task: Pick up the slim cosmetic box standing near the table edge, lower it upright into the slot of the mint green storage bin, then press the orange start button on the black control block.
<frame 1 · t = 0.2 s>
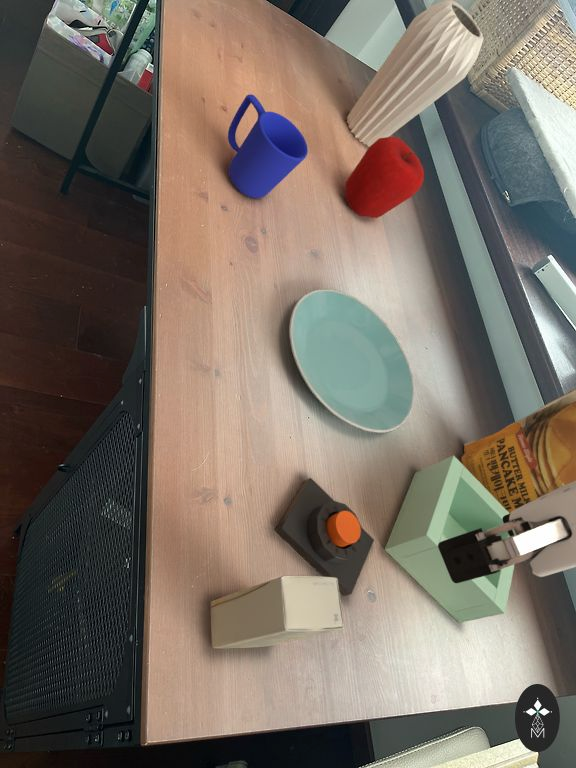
hand: (480, 547, 51), 22 cm above the table, tool pointing down, fingers open, 9 cm apart
cosmetic box: (235, 625, 60), on the table
pancake mix bag: (479, 496, 92), on the table
plate: (342, 367, 86), on the table
vase: (361, 132, 122), on the table
start button: (343, 528, 68), point 3 cm above the table, slide at 0.1 cm
mint green storage bin: (435, 544, 82), on the table
mug: (237, 173, 92), on the table
apple: (356, 204, 108), on the table
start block: (323, 536, 71), on the table
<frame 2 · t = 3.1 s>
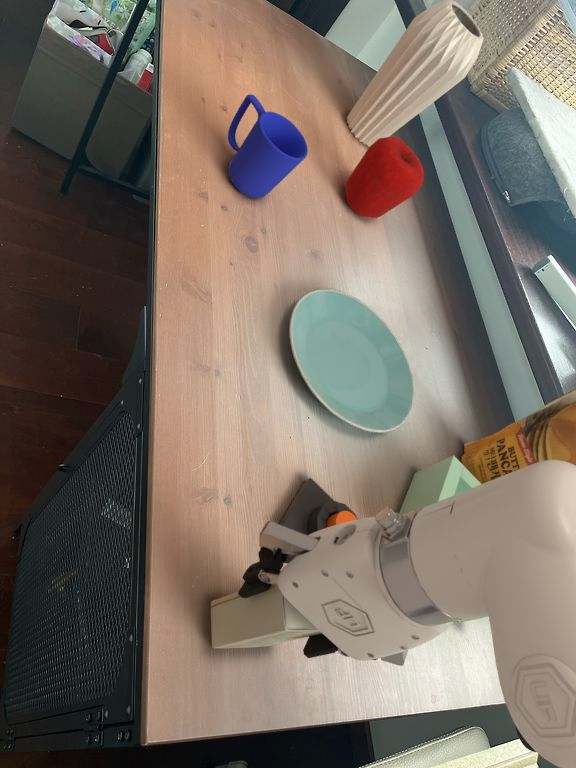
hand: (280, 611, 54), 7 cm above the table, tool pointing down, fingers closed on cosmetic box, 7 cm apart
cosmetic box: (235, 625, 60), on the table, touching gripper
everything else where it was.
when the fingers open (8 cm above the table, at t = 11.4 s): cosmetic box stays where it is, resting on mint green storage bin.
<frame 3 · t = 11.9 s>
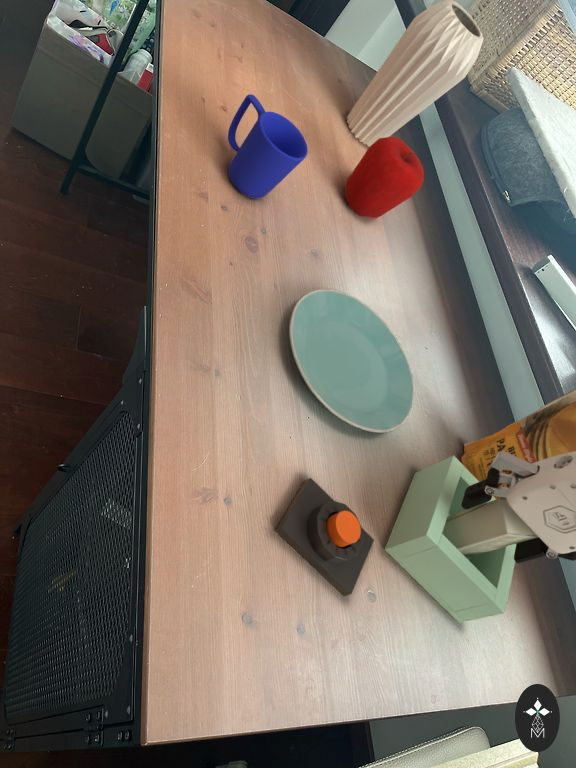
hand: (491, 526, 75), 9 cm above the table, tool pointing down, fingers open, 9 cm apart
cosmetic box: (440, 543, 81), point 1 cm above the table, touching mint green storage bin
everything else where it was.
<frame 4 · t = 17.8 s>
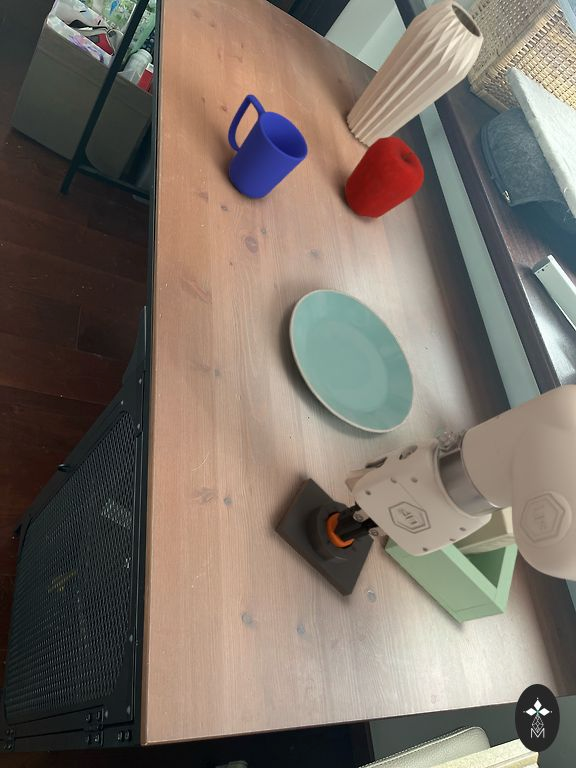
hand: (342, 527, 68), 3 cm above the table, tool pointing down, fingers closed
start button: (337, 531, 69), point 2 cm above the table, slide at -0.9 cm, touching gripper
everything else where it was.
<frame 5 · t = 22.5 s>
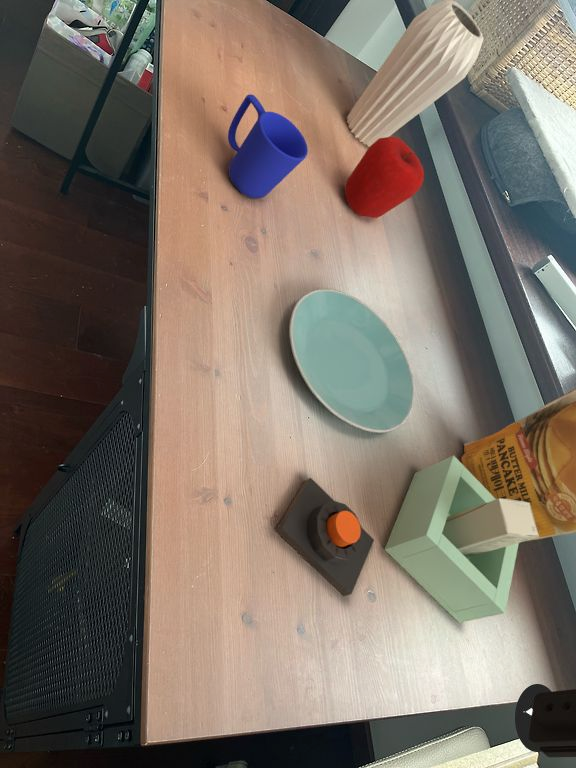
hand: (540, 724, 39), 27 cm above the table, tool pointing down, fingers closed
start button: (343, 528, 68), point 3 cm above the table, slide at 0.1 cm
everything else where it was.
at the end: cosmetic box inside the target area in the mint green storage bin (0.1 cm from its centre), point 0.8 cm above the mint green storage bin's base; start button pushed in 1.1 cm at the most during the clip, back to where it started at the end; start button slide at 0.1 cm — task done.
